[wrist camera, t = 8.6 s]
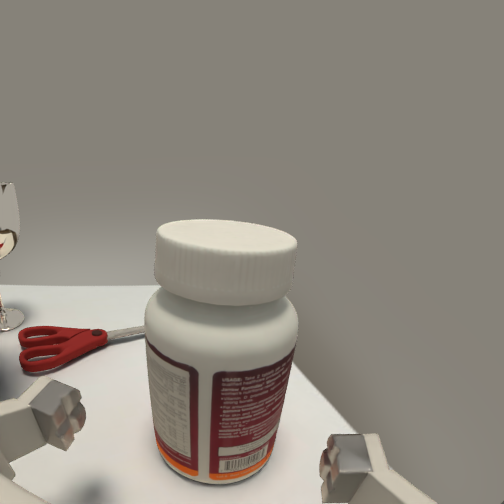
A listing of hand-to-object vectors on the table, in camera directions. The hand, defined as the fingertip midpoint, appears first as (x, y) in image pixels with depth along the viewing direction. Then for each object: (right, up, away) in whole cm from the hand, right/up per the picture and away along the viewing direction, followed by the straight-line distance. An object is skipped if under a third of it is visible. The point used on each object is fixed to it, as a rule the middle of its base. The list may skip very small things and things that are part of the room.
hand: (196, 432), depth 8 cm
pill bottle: (0, -5, +6) cm, 8 cm away
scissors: (-10, -2, +13) cm, 17 cm away
